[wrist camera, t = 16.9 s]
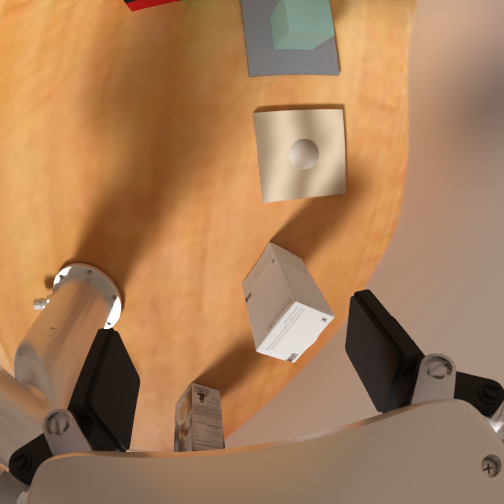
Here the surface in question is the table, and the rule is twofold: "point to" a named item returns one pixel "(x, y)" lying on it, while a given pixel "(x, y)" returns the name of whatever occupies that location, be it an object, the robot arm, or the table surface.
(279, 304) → the skincare box
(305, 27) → the teal block
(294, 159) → the birch pad
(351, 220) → the table surface
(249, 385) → the table surface
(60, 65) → the table surface
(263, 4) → the slate mat
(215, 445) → the coffee box
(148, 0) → the puzzle toy
